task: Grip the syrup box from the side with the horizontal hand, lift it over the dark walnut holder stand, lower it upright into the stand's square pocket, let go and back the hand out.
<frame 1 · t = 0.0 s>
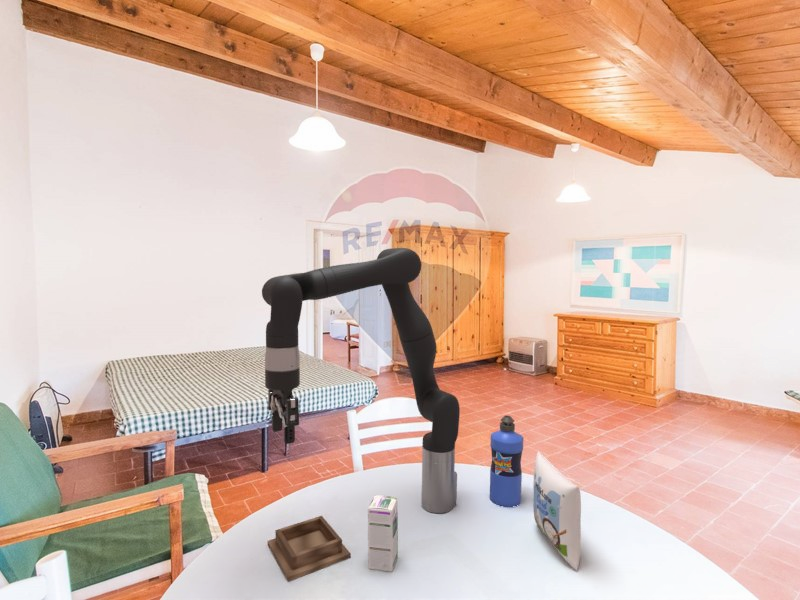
hand: (283, 436, 100), 29 cm above the table, tool pointing down, fingers open, 8 cm apart
holder stand: (308, 551, 105), on the table
syrup box: (382, 563, 101), on the table
pouch: (554, 546, 108), on the table
water bottle: (505, 499, 130), on the table
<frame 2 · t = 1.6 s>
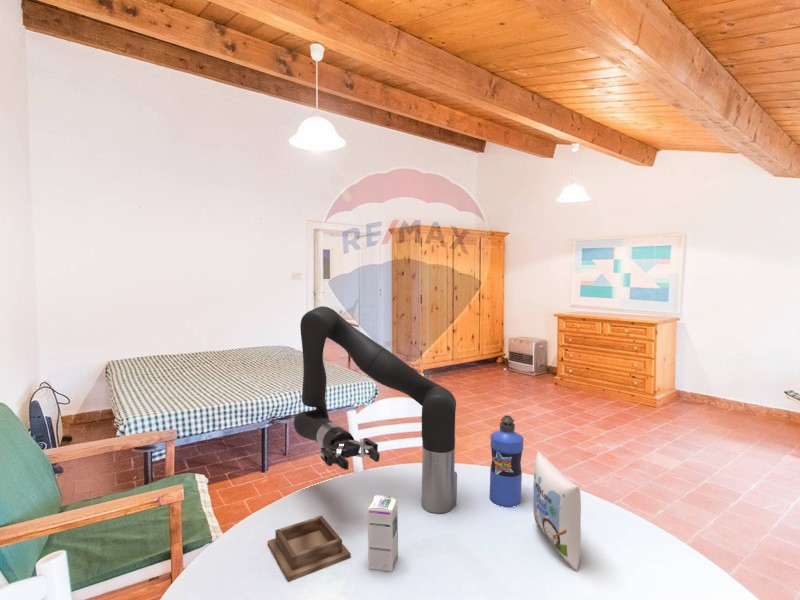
hand: (362, 461, 108), 20 cm above the table, tool horizontal, fingers open, 8 cm apart
nothing on the table moved.
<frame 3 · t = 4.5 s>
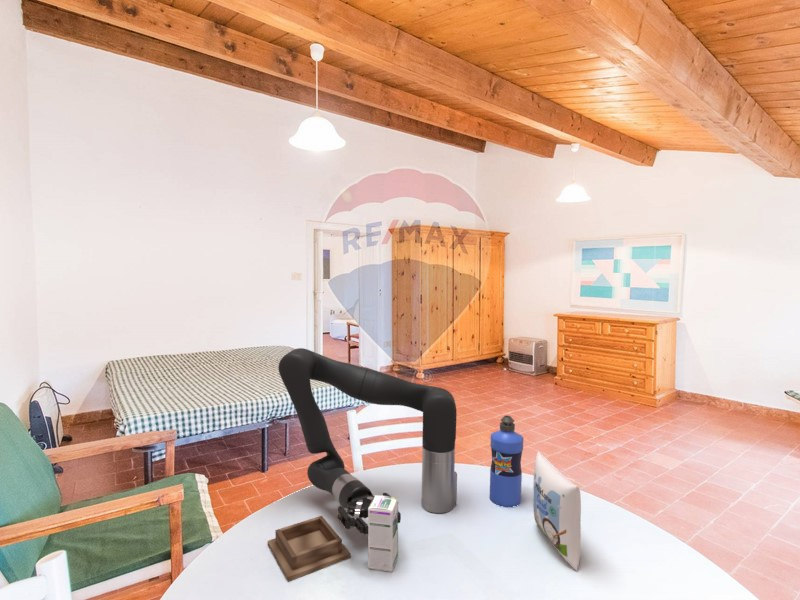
hand: (383, 524, 100), 9 cm above the table, tool horizontal, fingers closed on syrup box, 8 cm apart
syrup box: (382, 563, 101), on the table, touching gripper
everything else where it was.
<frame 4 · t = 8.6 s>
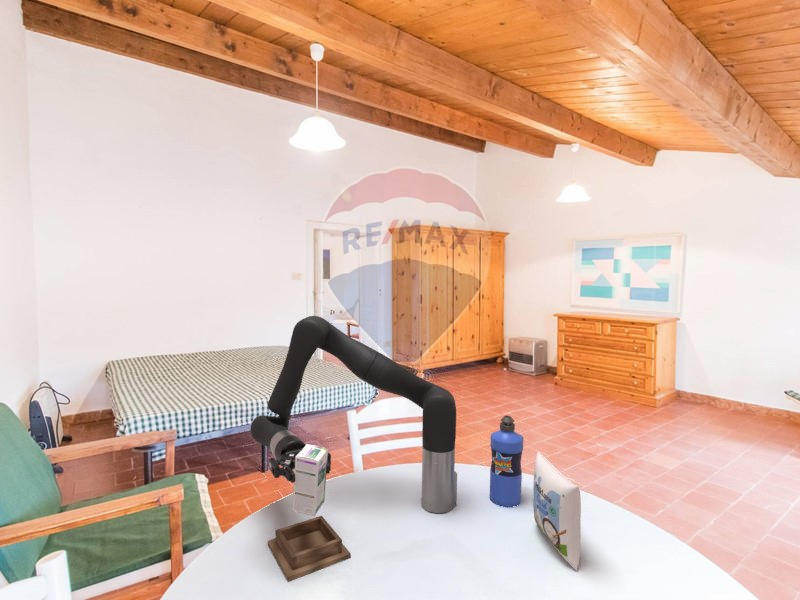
hand: (311, 474, 102), 20 cm above the table, tool horizontal, fingers closed on syrup box, 8 cm apart
syrup box: (308, 507, 104), point 11 cm above the table, touching gripper
everything else where it was.
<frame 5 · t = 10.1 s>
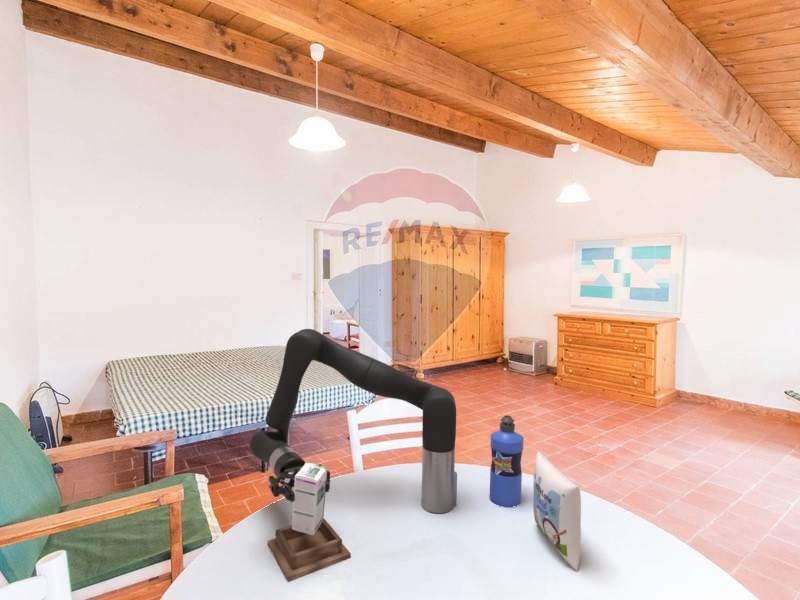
hand: (310, 492, 102), 15 cm above the table, tool horizontal, fingers closed on syrup box, 8 cm apart
syrup box: (307, 525, 105), point 6 cm above the table, touching gripper
everything else where it was.
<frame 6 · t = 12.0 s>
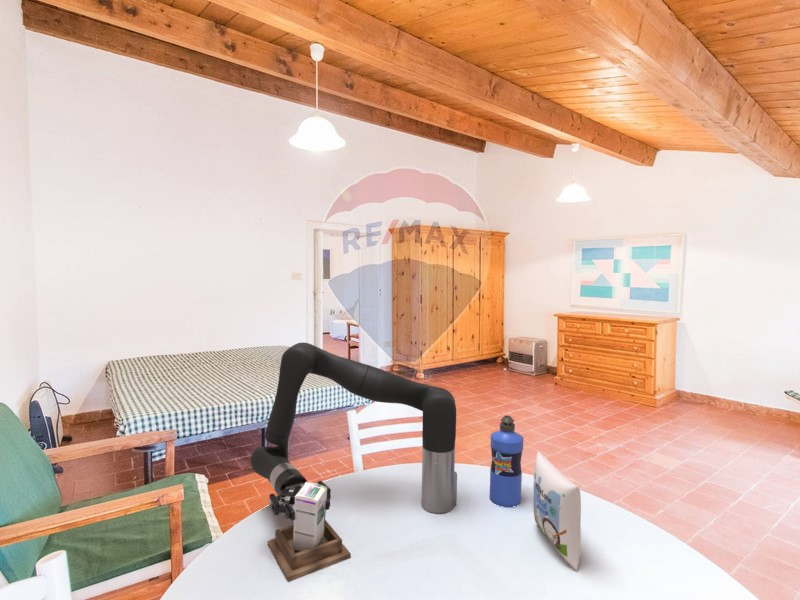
hand: (311, 511, 103), 11 cm above the table, tool horizontal, fingers closed on syrup box, 8 cm apart
syrup box: (308, 545, 105), point 1 cm above the table, touching gripper, holder stand
everything else where it was.
when the fingers open (11 cm above the table, at t = 13.5 s): syrup box stays where it is, resting on holder stand.
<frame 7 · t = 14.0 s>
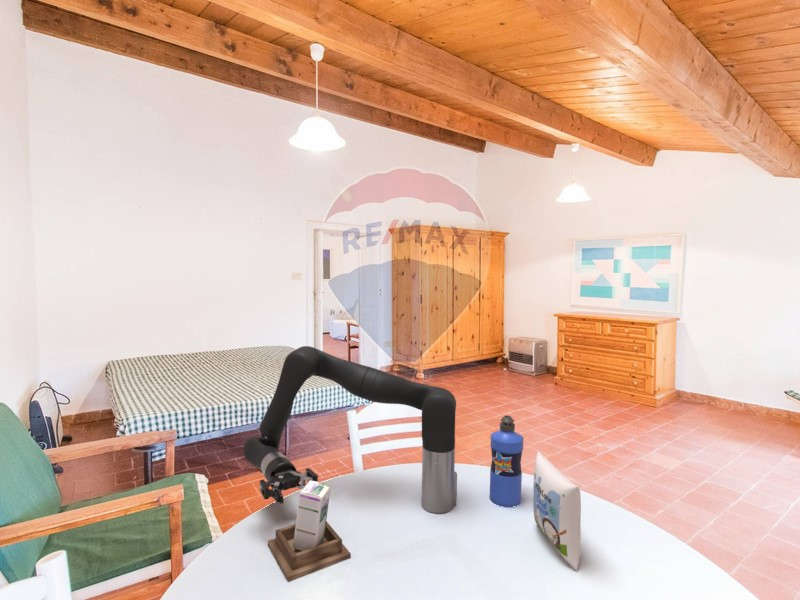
hand: (298, 495, 109), 11 cm above the table, tool horizontal, fingers open, 8 cm apart
syrup box: (307, 544, 105), point 1 cm above the table, touching holder stand
everything else where it was.
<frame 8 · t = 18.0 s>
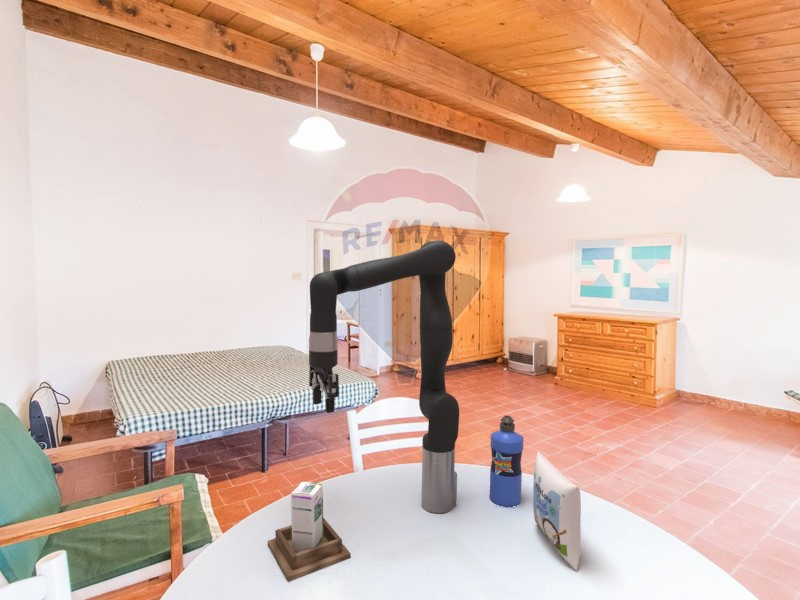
hand: (323, 407, 118), 30 cm above the table, tool pointing down, fingers open, 8 cm apart
at the end: syrup box 0.4 cm off-centre on the holder stand, point 0.8 cm above the holder stand's base; syrup box tilted 0°; the gripper is holding nothing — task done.
